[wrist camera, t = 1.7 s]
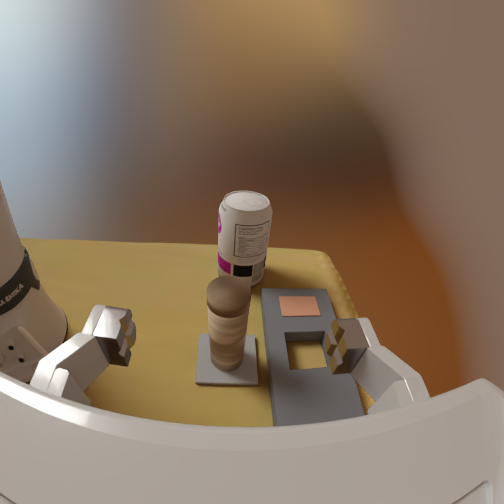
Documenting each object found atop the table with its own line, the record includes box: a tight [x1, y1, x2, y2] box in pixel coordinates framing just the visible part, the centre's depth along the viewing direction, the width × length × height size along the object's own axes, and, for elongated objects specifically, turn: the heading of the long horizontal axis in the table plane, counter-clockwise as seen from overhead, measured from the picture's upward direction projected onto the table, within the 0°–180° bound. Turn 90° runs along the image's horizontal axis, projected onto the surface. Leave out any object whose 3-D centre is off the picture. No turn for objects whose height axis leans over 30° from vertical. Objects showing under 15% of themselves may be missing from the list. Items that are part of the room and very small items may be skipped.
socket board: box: [260, 288, 364, 426], centre depth 35 cm, size 24×11×3 cm, turn 3°
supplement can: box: [218, 191, 272, 287], centre depth 45 cm, size 8×8×15 cm
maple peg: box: [207, 276, 251, 371], centre depth 31 cm, size 4×4×13 cm
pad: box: [196, 333, 258, 385], centre depth 35 cm, size 8×8×1 cm
